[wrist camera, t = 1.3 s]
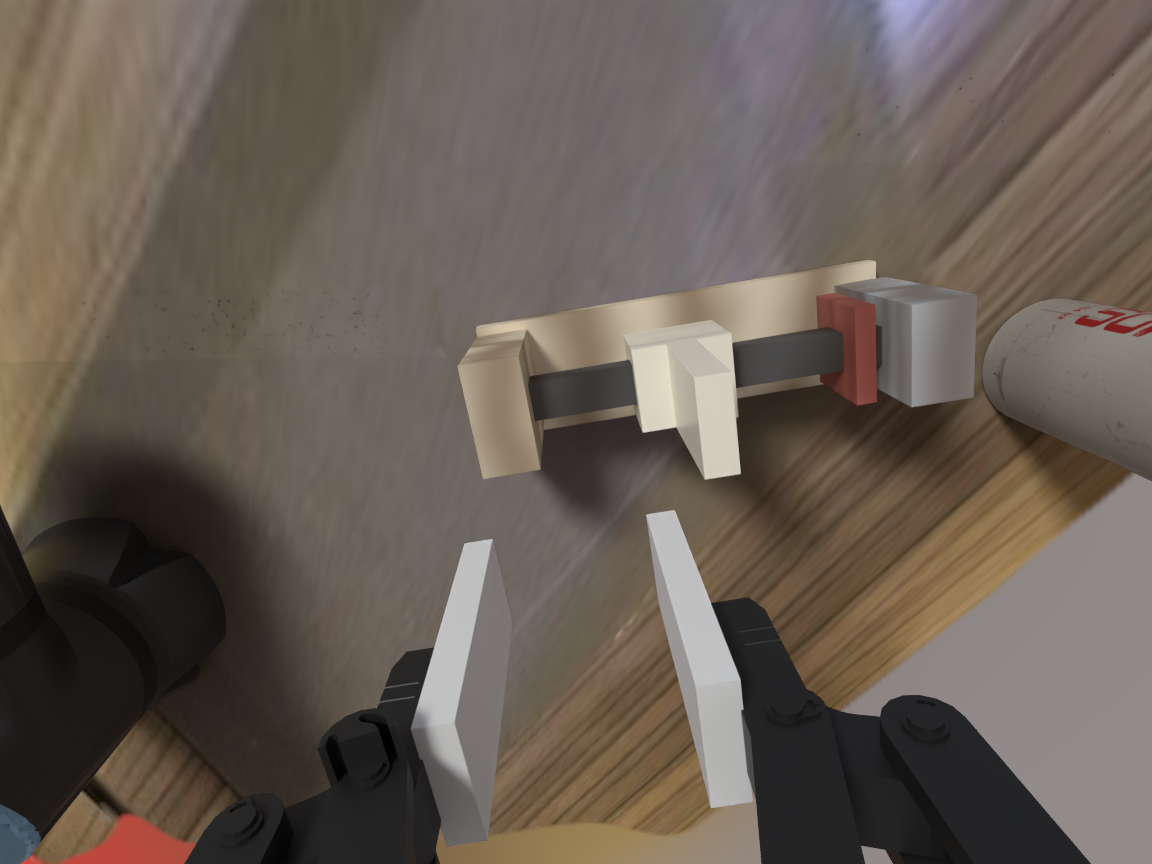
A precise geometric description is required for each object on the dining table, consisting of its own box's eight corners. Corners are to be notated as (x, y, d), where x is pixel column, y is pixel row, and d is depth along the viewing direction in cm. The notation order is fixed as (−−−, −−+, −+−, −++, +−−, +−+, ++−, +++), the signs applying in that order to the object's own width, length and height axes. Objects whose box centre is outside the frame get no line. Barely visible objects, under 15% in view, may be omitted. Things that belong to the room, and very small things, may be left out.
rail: (500, 432, 42) (483, 495, 32) (477, 325, 40) (452, 360, 30) (878, 370, 41) (972, 416, 32) (876, 258, 39) (977, 272, 30)
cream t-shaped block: (633, 408, 38) (663, 486, 27) (623, 334, 36) (649, 385, 26) (718, 394, 38) (782, 467, 27) (711, 319, 36) (776, 364, 25)
